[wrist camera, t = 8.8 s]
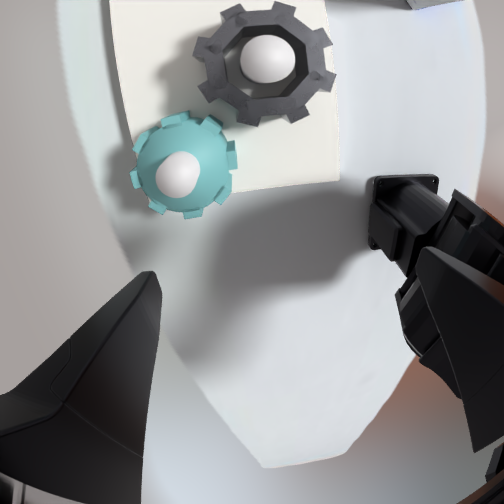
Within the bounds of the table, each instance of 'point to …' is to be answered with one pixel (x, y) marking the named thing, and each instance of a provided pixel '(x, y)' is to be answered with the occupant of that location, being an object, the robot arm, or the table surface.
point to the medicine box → (427, 3)
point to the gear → (257, 24)
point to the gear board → (215, 106)
